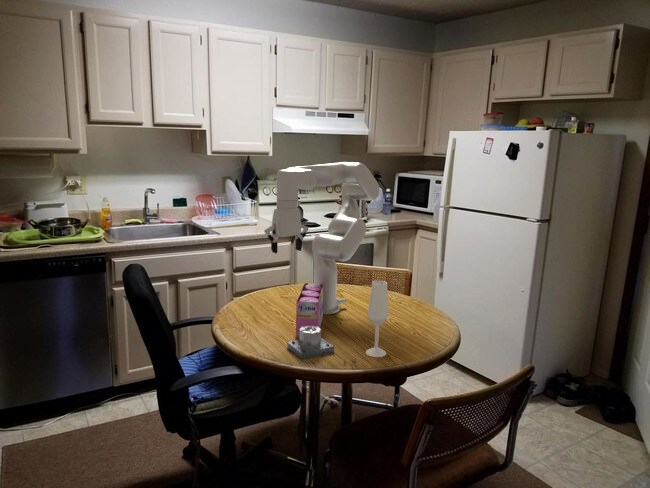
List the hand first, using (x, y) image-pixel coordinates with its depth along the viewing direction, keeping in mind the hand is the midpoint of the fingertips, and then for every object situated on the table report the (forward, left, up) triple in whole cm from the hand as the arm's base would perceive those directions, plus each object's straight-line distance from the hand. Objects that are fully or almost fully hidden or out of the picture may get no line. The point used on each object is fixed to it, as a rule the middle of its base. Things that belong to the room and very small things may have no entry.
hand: (286, 251), depth 174 cm
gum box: (-7, +6, -29) cm, 30 cm away
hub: (+3, +23, -26) cm, 35 cm away
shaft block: (+3, +24, -28) cm, 37 cm away
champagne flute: (-15, +36, -28) cm, 48 cm away
